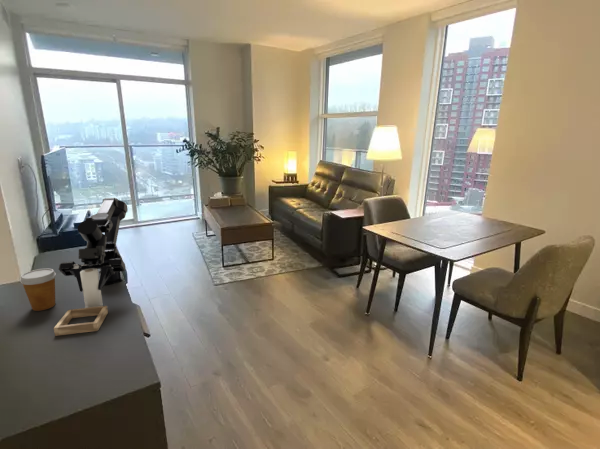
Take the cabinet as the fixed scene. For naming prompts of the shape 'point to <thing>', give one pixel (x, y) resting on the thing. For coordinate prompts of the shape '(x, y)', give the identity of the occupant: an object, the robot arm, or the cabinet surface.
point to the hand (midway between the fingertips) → (90, 290)
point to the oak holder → (82, 327)
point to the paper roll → (91, 287)
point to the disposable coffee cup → (40, 288)
